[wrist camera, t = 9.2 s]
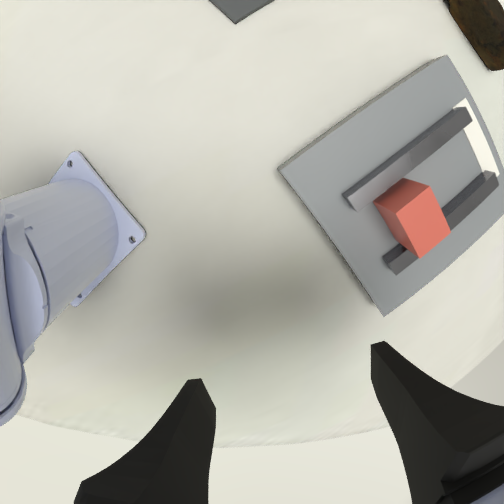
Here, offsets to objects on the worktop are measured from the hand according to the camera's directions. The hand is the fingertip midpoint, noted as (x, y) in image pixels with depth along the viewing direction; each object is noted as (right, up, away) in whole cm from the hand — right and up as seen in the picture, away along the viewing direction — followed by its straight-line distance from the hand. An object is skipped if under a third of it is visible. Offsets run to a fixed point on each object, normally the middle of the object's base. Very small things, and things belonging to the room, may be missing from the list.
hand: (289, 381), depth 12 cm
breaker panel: (+9, +10, +6) cm, 15 cm away
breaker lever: (+7, +8, +5) cm, 12 cm away
